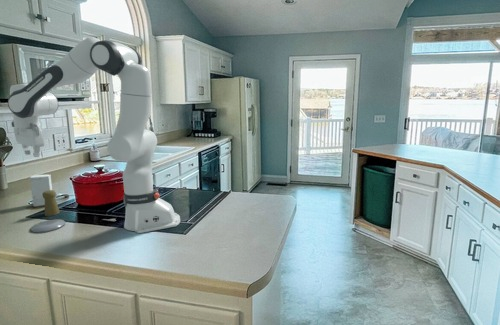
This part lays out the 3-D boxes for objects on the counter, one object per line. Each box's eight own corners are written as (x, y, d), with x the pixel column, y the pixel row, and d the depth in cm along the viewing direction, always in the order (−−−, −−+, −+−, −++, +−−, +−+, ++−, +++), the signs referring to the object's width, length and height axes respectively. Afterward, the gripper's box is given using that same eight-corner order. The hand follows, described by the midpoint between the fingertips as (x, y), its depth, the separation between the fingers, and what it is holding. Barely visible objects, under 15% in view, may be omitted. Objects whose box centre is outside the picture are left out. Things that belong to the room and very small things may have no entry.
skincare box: (33, 207, 159) (28, 177, 156) (35, 203, 165) (31, 175, 162) (52, 204, 163) (48, 175, 159) (54, 201, 168) (50, 173, 165)
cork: (52, 216, 146) (48, 193, 144) (41, 215, 147) (37, 192, 145) (62, 211, 152) (59, 189, 149) (51, 211, 153) (48, 188, 151)
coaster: (68, 219, 141) (68, 218, 141) (59, 230, 130) (59, 228, 130) (38, 223, 139) (37, 221, 138) (26, 234, 127) (25, 232, 127)
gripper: (46, 123, 131) (50, 157, 134) (26, 121, 143) (31, 152, 146) (28, 125, 126) (33, 159, 129) (9, 122, 138) (14, 154, 141)
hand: (32, 155), depth 138 cm, fingers open, 8 cm apart
